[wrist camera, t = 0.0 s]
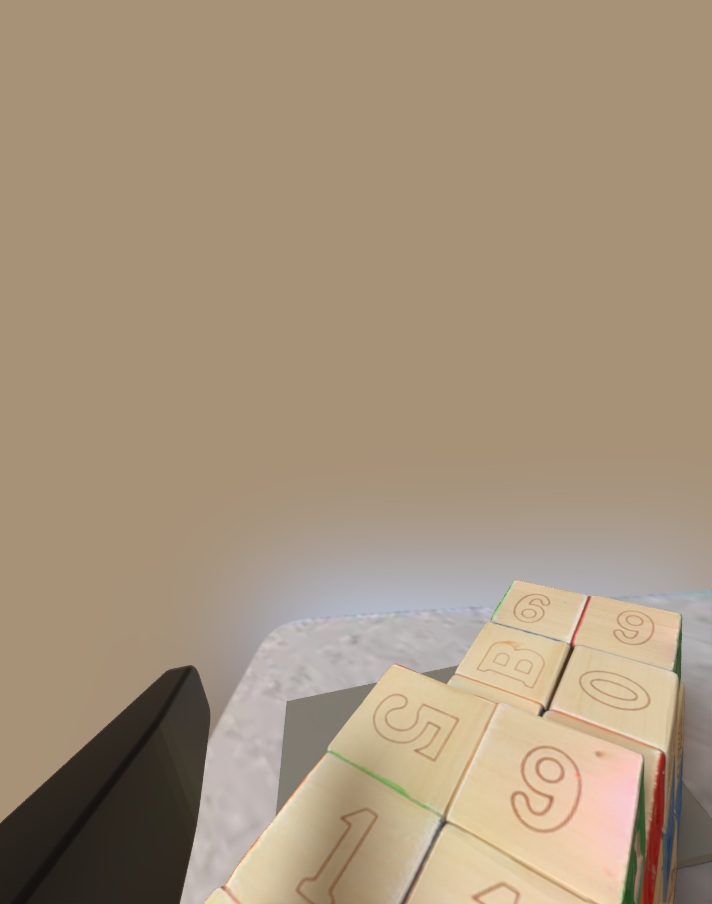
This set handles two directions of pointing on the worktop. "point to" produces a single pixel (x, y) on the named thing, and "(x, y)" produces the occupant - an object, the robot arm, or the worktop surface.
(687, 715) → the worktop surface
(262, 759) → the worktop surface
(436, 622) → the worktop surface
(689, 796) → the mat
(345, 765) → the stack of blocks
